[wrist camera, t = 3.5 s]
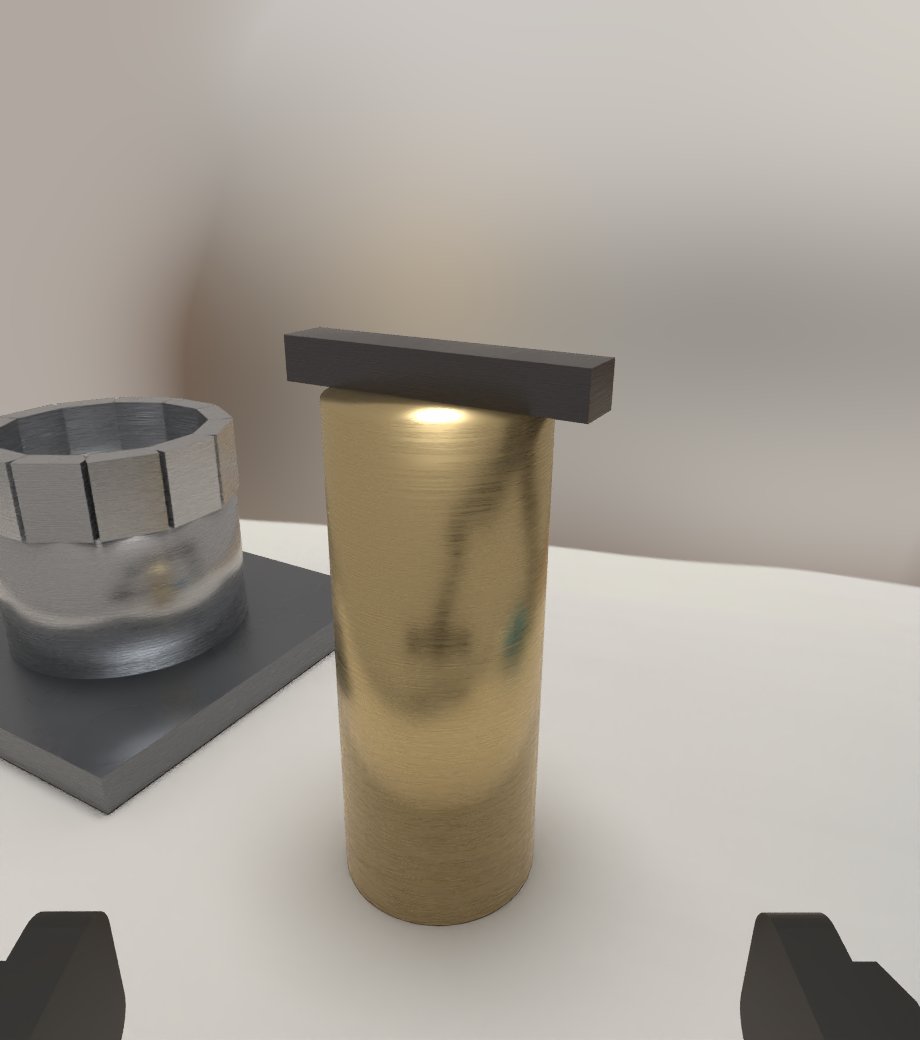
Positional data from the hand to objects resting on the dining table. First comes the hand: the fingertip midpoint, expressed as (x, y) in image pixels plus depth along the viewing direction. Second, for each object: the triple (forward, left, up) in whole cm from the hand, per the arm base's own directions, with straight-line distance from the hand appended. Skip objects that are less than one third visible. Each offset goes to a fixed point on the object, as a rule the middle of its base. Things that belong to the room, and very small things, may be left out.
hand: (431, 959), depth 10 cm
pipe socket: (-11, -20, -7) cm, 23 cm away
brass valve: (-8, -5, -7) cm, 11 cm away
